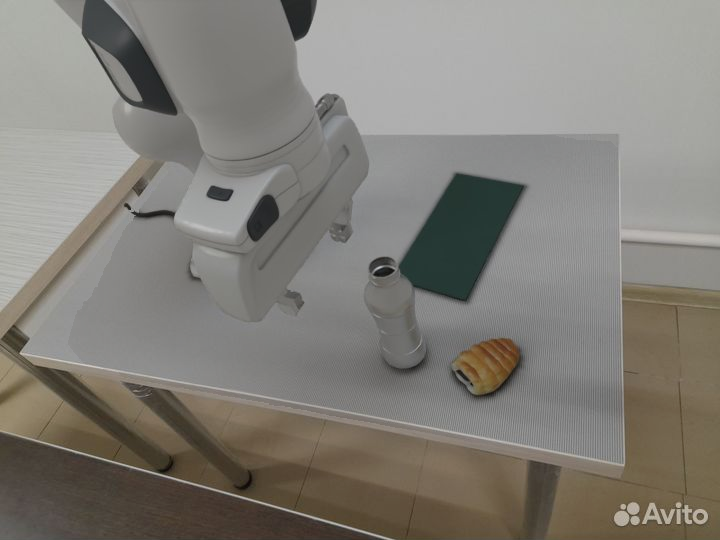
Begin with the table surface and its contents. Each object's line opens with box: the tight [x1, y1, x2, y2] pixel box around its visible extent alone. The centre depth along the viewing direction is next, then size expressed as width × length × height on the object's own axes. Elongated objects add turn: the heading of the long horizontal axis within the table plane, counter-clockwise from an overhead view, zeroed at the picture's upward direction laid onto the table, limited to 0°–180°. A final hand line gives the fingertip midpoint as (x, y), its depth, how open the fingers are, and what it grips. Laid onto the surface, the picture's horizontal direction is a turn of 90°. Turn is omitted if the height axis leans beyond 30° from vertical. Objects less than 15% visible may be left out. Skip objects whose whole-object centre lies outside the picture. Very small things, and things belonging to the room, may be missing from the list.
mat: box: [398, 173, 524, 302], centre depth 91 cm, size 28×13×1 cm, turn 151°
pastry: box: [450, 337, 520, 396], centre depth 72 cm, size 9×7×4 cm
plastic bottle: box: [363, 255, 427, 370], centre depth 70 cm, size 6×7×20 cm
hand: (319, 271), depth 50 cm, fingers open, 8 cm apart
